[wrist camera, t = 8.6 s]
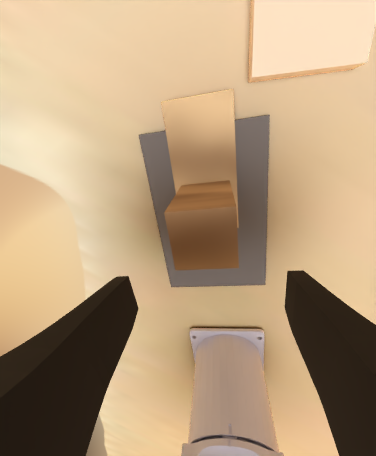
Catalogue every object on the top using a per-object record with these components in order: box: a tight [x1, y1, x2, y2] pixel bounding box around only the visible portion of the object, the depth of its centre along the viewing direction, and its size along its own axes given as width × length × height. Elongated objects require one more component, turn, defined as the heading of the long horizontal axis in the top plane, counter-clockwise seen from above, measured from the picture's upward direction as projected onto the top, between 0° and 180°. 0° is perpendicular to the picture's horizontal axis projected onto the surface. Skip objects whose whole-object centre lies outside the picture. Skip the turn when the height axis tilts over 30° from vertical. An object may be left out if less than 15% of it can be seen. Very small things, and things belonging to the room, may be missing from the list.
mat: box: [139, 115, 270, 287], centre depth 17 cm, size 14×9×1 cm, turn 8°
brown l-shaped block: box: [161, 89, 239, 270], centre depth 12 cm, size 9×4×7 cm, turn 8°
